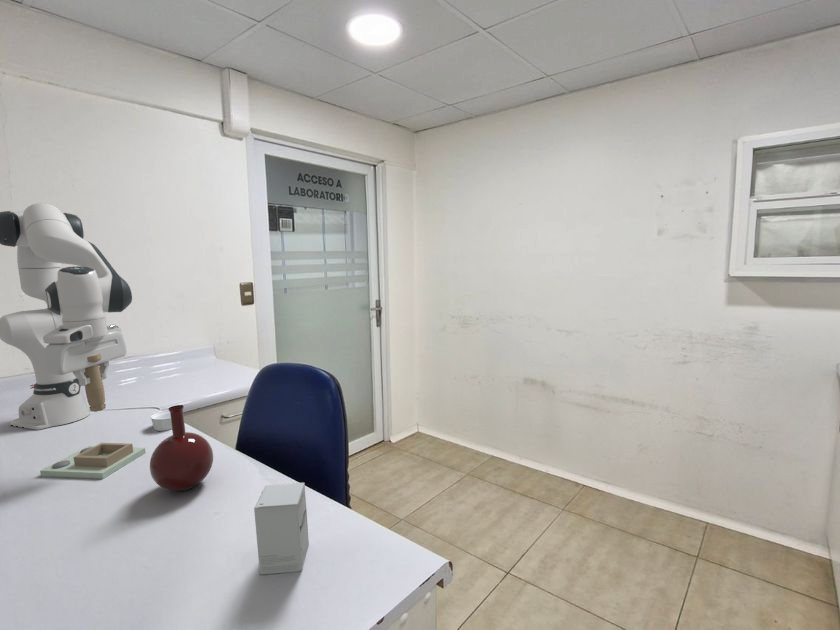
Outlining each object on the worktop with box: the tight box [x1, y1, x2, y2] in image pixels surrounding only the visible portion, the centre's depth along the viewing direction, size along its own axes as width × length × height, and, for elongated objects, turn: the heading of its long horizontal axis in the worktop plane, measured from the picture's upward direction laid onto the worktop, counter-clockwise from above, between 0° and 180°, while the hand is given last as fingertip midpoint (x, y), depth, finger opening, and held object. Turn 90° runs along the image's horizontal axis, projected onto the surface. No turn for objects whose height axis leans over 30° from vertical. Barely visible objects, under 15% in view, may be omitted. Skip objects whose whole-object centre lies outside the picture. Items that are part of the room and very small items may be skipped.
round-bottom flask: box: [149, 404, 214, 492], centre depth 101 cm, size 13×13×20 cm
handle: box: [83, 353, 107, 413], centre depth 112 cm, size 5×6×15 cm
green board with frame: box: [39, 442, 147, 480], centre depth 115 cm, size 18×14×4 cm
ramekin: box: [150, 409, 172, 432], centre depth 139 cm, size 9×9×4 cm
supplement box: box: [253, 482, 310, 575], centre depth 76 cm, size 7×7×13 cm
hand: (93, 382), depth 111 cm, fingers closed on handle, 3 cm apart
